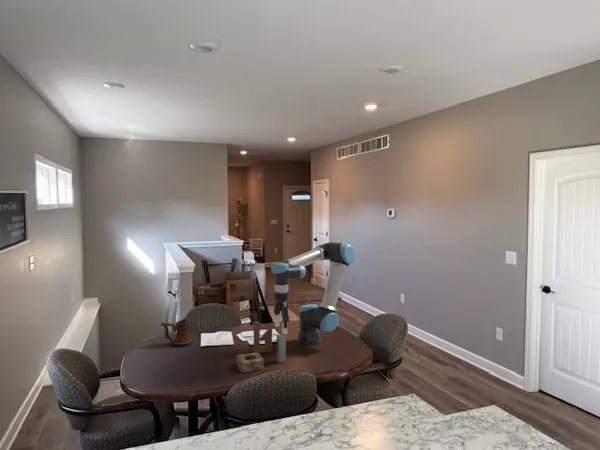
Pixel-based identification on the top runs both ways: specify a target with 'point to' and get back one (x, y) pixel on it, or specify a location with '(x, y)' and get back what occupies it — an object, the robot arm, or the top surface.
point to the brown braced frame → (262, 339)
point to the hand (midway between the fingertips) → (281, 330)
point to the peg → (281, 348)
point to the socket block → (250, 362)
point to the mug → (179, 333)
